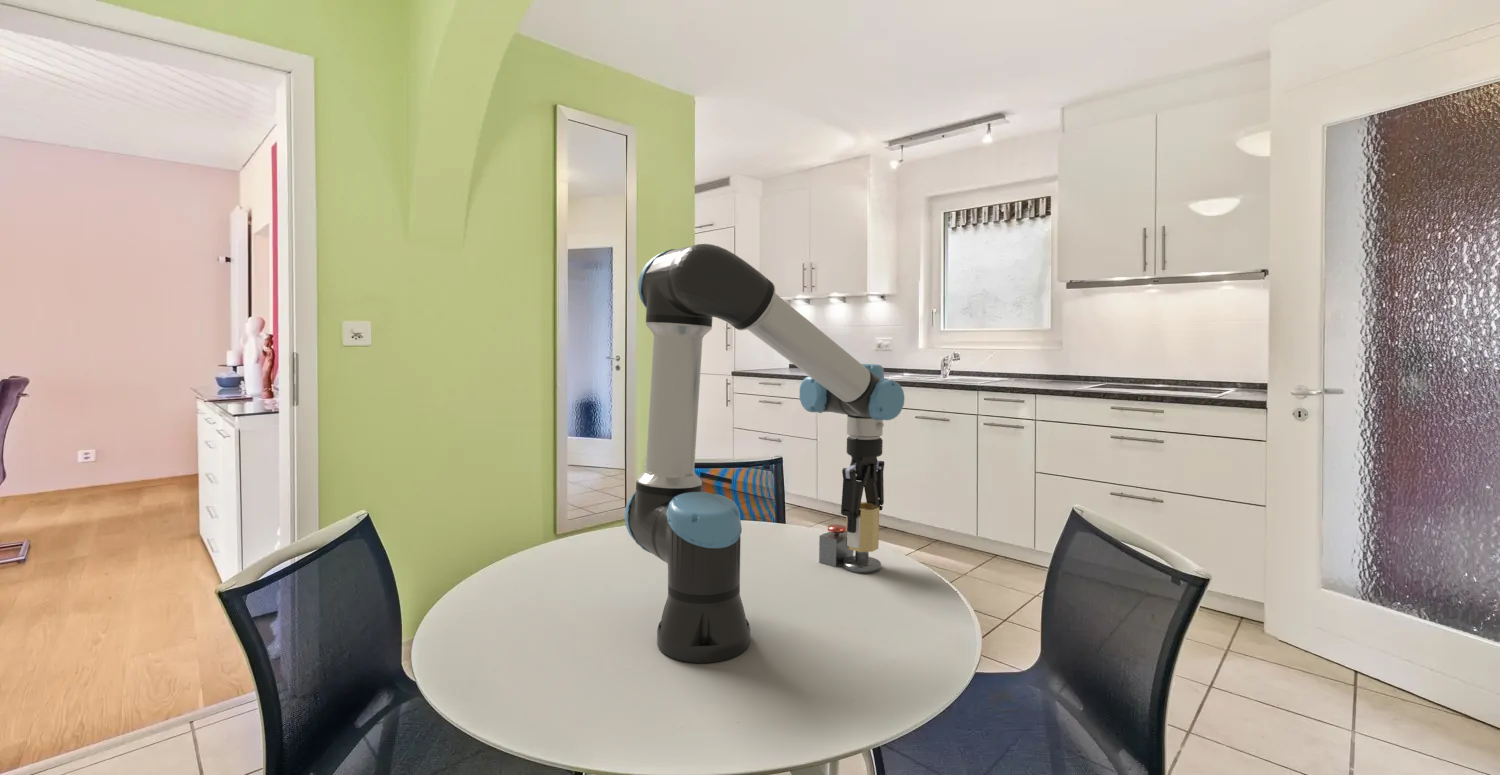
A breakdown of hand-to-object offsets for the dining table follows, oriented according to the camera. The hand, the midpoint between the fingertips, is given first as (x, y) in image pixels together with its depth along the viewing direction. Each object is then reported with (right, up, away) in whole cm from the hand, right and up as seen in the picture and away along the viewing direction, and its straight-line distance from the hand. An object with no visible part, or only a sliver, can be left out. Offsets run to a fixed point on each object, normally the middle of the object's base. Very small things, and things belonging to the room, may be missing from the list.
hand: (862, 542), depth 147 cm
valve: (-2, -5, +2) cm, 6 cm away
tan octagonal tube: (0, -1, 0) cm, 1 cm away
